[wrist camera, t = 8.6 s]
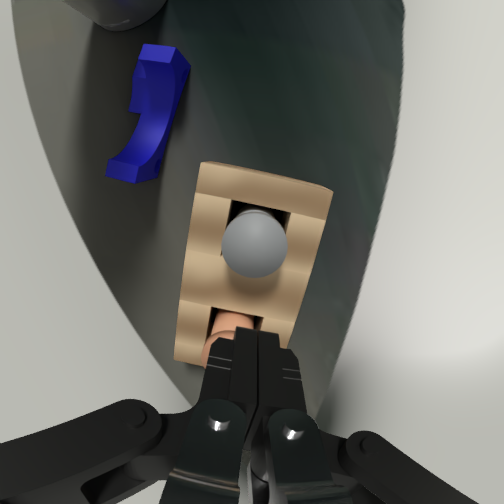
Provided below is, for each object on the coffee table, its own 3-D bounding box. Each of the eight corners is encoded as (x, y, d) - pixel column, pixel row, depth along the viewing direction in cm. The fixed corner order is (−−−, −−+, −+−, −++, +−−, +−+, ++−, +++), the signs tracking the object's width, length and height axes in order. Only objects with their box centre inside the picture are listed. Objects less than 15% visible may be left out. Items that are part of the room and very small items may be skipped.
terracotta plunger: (216, 291, 30) (204, 333, 23) (262, 300, 31) (263, 344, 23) (209, 329, 32) (198, 375, 25) (252, 337, 32) (251, 384, 25)
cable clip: (151, 60, 24) (129, 42, 19) (191, 66, 25) (175, 47, 19) (119, 167, 28) (91, 172, 23) (157, 177, 29) (134, 183, 23)
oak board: (210, 161, 28) (201, 162, 23) (320, 185, 28) (333, 191, 24) (183, 333, 34) (173, 359, 29) (273, 351, 35) (275, 379, 30)
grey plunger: (235, 194, 28) (228, 208, 21) (285, 204, 28) (294, 222, 21) (226, 241, 30) (216, 270, 22) (273, 251, 30) (278, 283, 23)
